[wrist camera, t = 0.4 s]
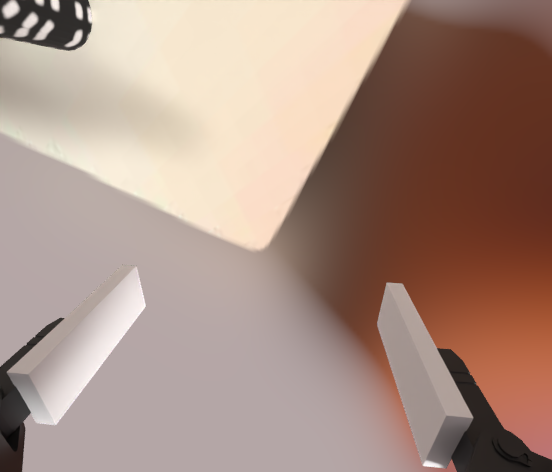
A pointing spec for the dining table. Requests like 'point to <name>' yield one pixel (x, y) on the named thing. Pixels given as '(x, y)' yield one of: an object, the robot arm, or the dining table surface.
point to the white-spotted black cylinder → (46, 22)
